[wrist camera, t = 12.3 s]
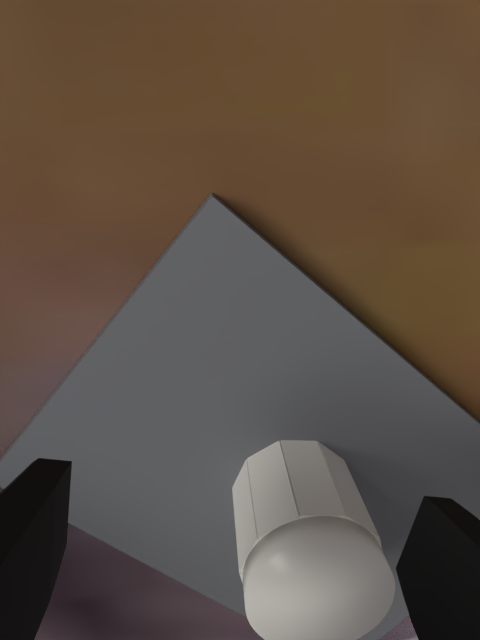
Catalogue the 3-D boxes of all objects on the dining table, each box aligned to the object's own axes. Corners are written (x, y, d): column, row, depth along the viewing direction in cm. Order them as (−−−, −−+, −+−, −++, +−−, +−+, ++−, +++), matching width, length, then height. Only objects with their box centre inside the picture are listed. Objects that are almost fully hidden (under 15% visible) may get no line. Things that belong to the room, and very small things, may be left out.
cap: (249, 545, 20) (263, 667, 15) (221, 454, 18) (227, 560, 13) (355, 519, 20) (403, 633, 15) (337, 425, 18) (385, 522, 13)
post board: (2, 455, 19) (-64, 554, 14) (211, 192, 16) (214, 208, 11) (334, 639, 25) (365, 753, 20) (537, 471, 21) (630, 559, 17)
